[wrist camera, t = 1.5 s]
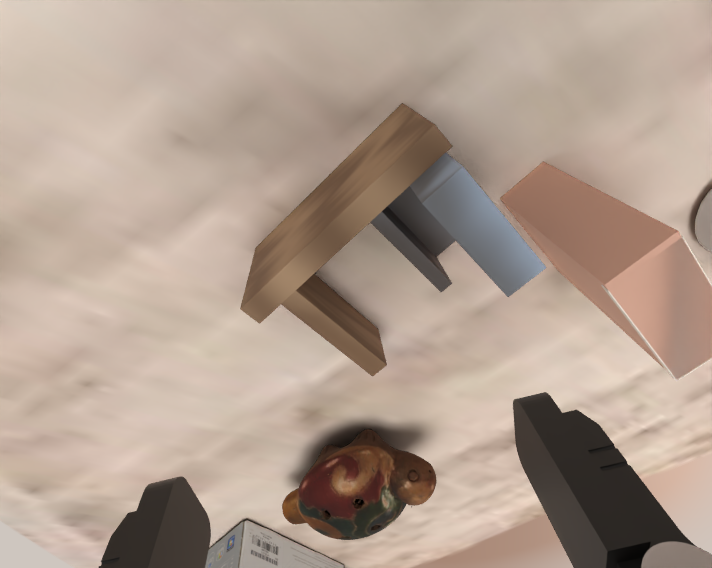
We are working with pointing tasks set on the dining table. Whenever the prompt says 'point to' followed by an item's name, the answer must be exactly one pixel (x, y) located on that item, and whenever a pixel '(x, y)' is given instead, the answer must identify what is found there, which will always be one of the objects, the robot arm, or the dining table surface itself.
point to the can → (704, 222)
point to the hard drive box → (263, 551)
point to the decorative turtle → (359, 488)
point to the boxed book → (621, 265)
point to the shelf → (384, 232)
